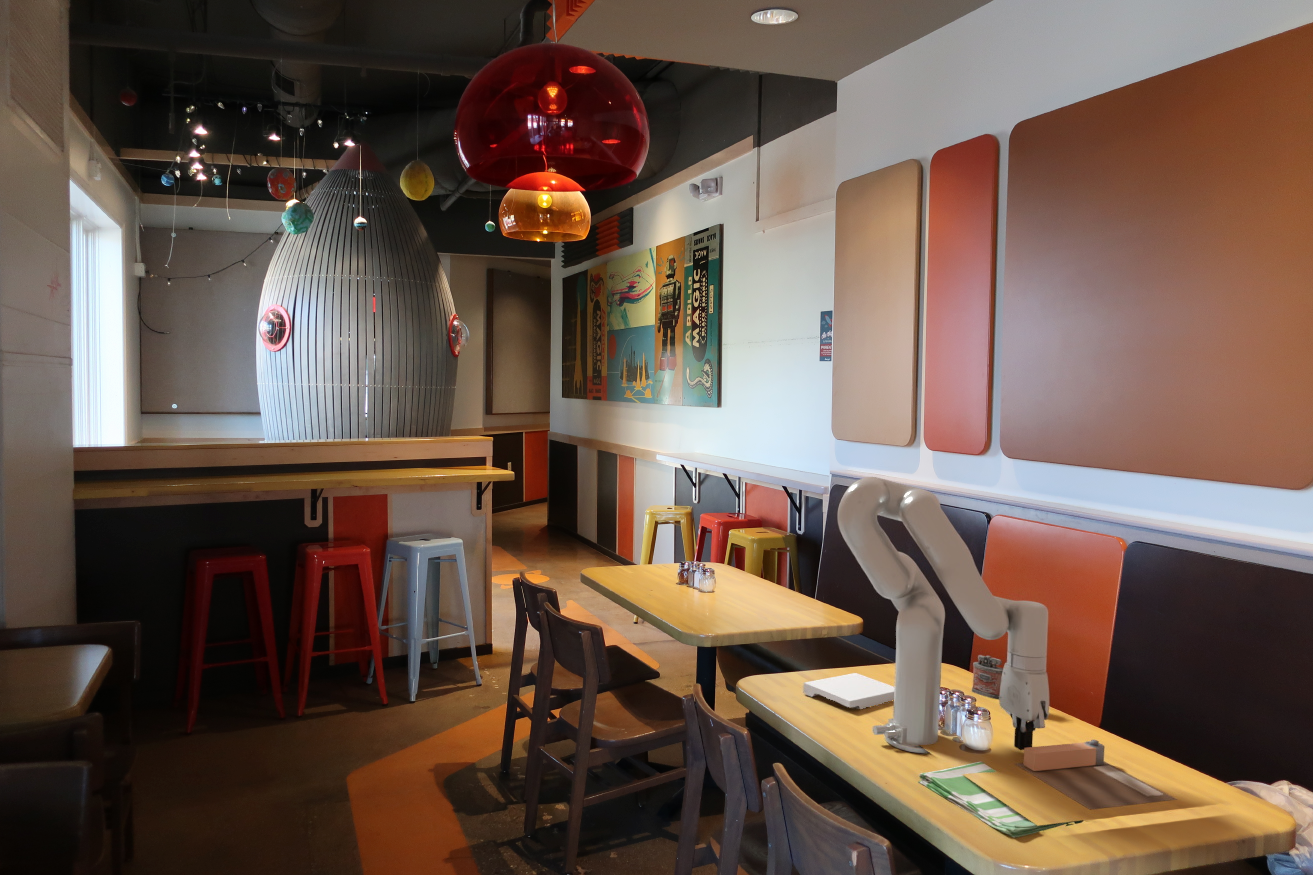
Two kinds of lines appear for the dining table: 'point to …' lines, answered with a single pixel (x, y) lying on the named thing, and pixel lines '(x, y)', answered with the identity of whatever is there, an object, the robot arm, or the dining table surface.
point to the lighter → (987, 677)
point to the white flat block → (851, 690)
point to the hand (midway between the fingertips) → (1023, 747)
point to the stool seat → (1099, 786)
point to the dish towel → (981, 800)
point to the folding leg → (1064, 756)
